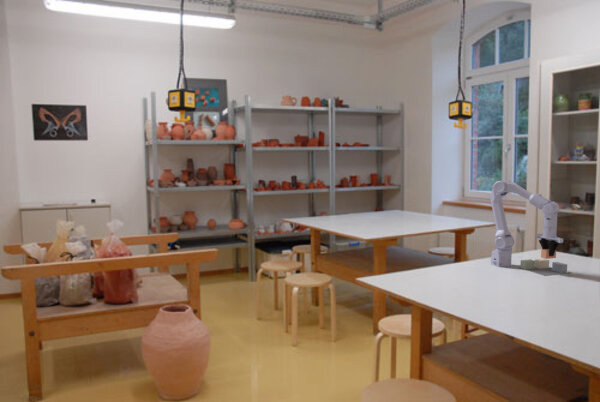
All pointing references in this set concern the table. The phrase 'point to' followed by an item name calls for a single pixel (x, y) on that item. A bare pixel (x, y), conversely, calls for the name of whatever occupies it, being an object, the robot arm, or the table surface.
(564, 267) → the bluegrey brick
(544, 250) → the terracotta brick
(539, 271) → the mat
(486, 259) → the table surface
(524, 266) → the sage brick
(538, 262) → the cream brick
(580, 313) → the table surface
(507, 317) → the table surface
